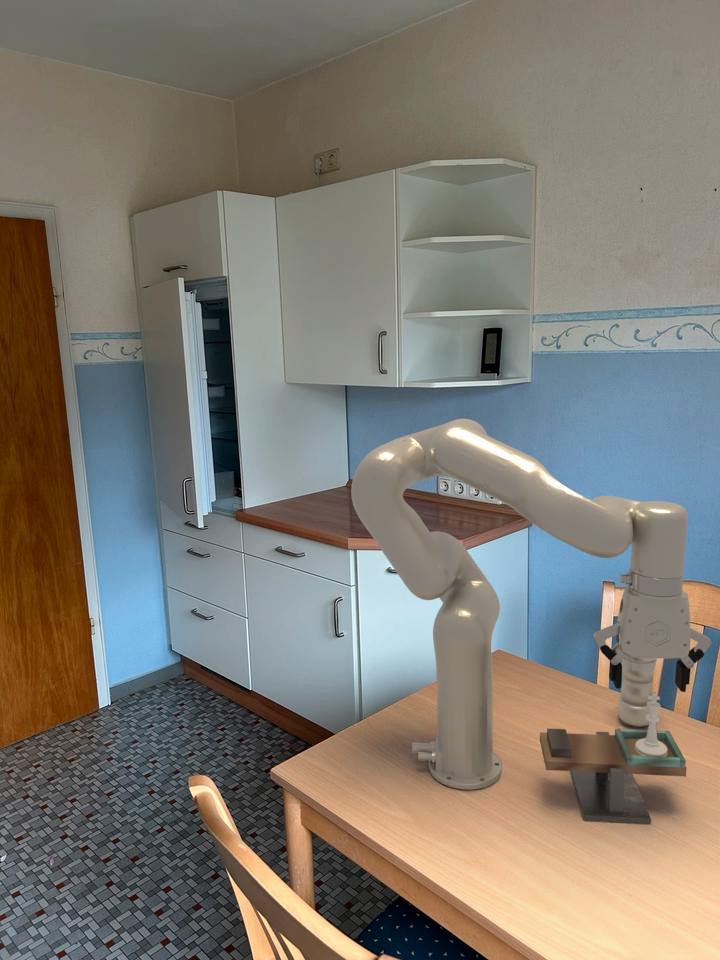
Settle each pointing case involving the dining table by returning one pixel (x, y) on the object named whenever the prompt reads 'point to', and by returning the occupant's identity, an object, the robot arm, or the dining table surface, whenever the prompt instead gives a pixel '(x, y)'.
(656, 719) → the chess piece
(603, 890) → the dining table surface
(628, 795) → the stand
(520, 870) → the dining table surface
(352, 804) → the dining table surface
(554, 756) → the balance beam
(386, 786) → the dining table surface
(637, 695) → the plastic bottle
